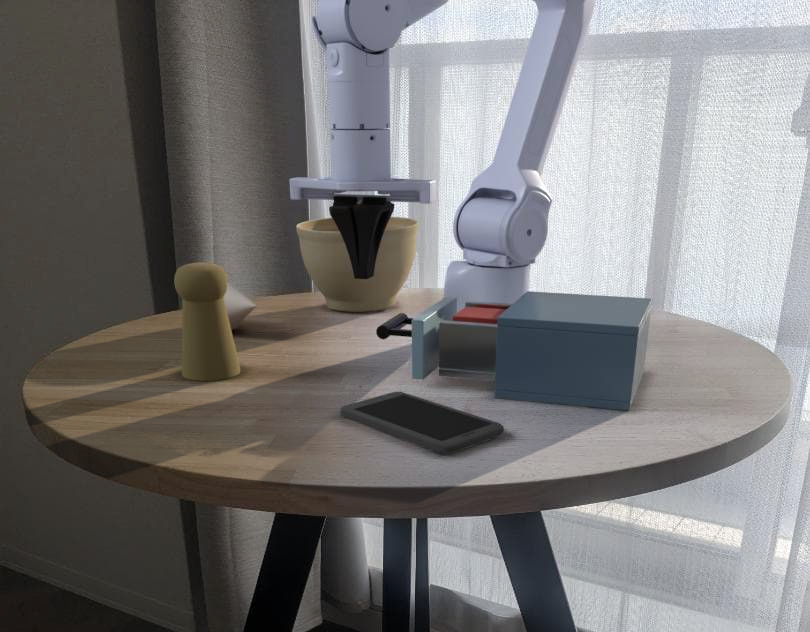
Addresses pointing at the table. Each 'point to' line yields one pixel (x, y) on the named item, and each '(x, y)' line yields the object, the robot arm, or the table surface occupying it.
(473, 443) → the cell phone
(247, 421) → the table surface
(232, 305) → the grey cone
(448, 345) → the drawer
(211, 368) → the cork
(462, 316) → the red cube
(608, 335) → the cabinet
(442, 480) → the table surface
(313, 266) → the planter bowl
